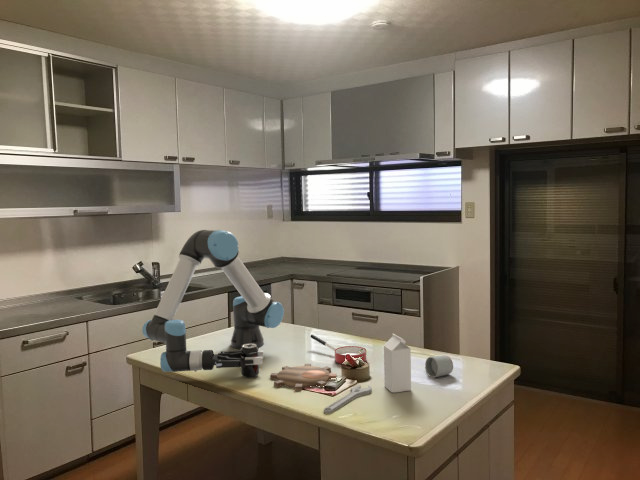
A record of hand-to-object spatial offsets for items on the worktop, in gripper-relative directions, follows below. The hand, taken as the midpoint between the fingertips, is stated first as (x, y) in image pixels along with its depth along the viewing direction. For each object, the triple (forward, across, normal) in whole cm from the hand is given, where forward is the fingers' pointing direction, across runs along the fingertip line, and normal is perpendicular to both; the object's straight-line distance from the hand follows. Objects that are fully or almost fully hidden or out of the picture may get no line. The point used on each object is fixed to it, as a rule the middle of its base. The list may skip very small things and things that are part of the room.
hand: (262, 357), depth 203 cm
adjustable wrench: (+29, +28, -8) cm, 41 cm away
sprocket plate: (+15, +6, -7) cm, 18 cm away
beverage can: (-5, 0, -7) cm, 9 cm away
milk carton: (+48, +21, -7) cm, 53 cm away
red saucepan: (+29, -20, -7) cm, 36 cm away
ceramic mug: (+66, +8, -7) cm, 67 cm away
